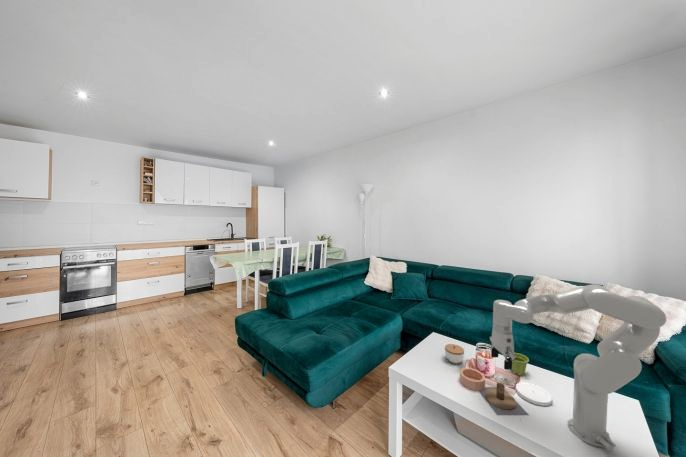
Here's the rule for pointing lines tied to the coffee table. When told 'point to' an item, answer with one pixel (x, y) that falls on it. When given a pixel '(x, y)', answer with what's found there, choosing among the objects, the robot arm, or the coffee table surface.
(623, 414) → the coffee table surface
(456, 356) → the lidded jar
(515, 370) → the plant pot
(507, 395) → the lid
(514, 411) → the mat
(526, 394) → the plastic lid
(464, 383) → the bowl
